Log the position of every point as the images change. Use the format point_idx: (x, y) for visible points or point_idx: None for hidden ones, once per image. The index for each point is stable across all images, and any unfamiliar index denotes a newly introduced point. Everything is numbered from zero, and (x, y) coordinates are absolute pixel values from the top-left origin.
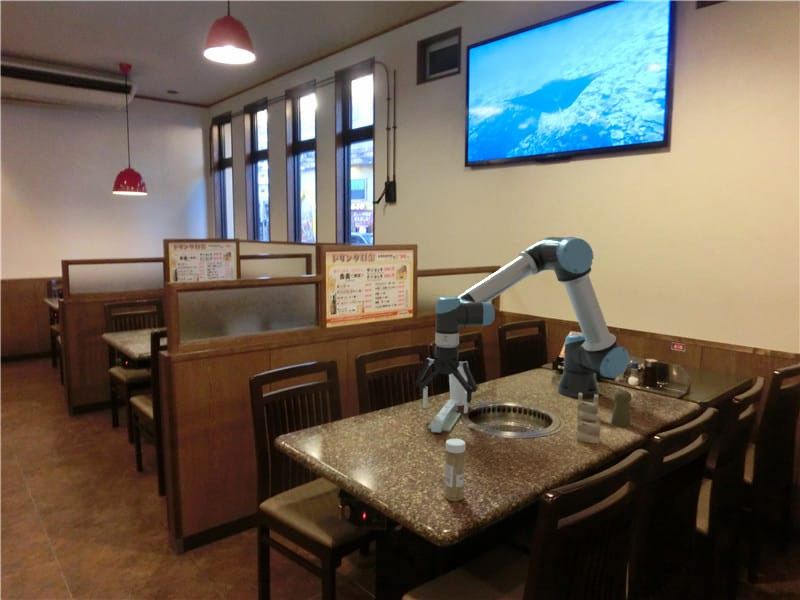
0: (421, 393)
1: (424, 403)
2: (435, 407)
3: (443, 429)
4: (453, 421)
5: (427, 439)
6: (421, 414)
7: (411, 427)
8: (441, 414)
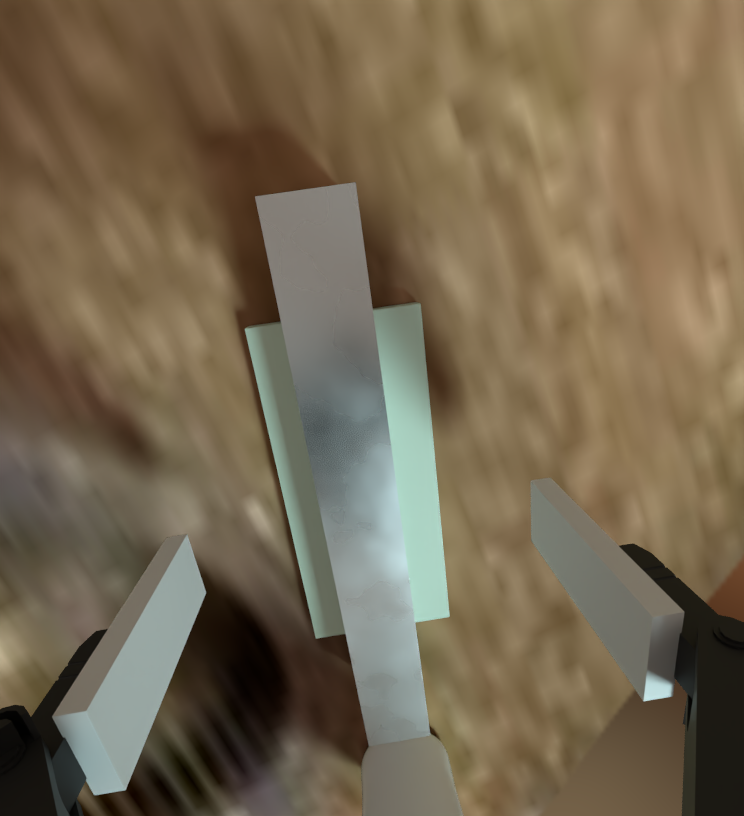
0: (656, 572)
1: (557, 501)
2: (504, 662)
3: None
4: (290, 483)
5: (330, 63)
6: None
7: (538, 265)
8: (353, 430)
